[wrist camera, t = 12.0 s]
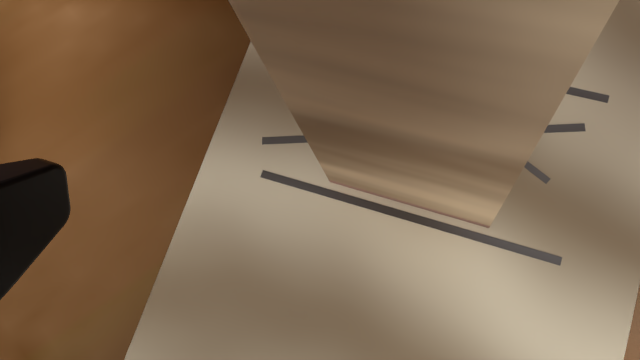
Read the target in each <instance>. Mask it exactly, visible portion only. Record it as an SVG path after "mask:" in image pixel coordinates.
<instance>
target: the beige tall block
mask: <svg viewBox="0 0 640 360" xmlns="http://www.w3.org/2000/svg"><path fill="white" fill-rule="evenodd" d="M228 1H229V3H230V5H231V7H232V8H233V10H234V12H235V14H236V15H237V17H238V19H239V21H240V23H241V24H242V26H243V28H244V30H245V31H246V33H247V35H248V37H249V39H250V40H251V42H252V44H253V46H254V48H255V49H256V51H257V53H258V55H259V56H260V58H261V60H262V62H263V64H264V65H265V67H266V69H267V71H268V73H269V74H270V76H271V78H272V80H273V81H274V83H275V85H276V87H277V89H278V90H279V92H280V94H281V96H282V98H283V99H284V101H285V103H286V105H287V106H288V108H289V110H290V112H291V114H292V115H293V117H294V119H295V121H296V123H297V124H298V126H299V128H300V130H301V131H302V133H303V135H304V137H305V139H306V140H307V142H308V144H309V146H310V148H311V149H312V151H313V153H314V155H315V156H316V158H317V160H318V162H319V164H320V165H321V167H322V169H323V171H324V172H325V174H326V176H327V178H328V180H329V181H330V182H331V183H335V184H338V185H342V186H345V187H348V188H352V189H355V190H359V191H362V192H366V193H369V194H373V195H376V196H379V197H383V198H386V199H390V200H393V201H397V202H400V203H404V204H407V205H410V206H414V207H417V208H421V209H424V210H428V211H431V212H435V213H438V214H441V215H445V216H448V217H452V218H455V219H459V220H462V221H466V222H469V223H472V224H476V225H479V226H483V227H486V228H489V227H490V226H491V224H492V222H493V220H494V219H495V217H496V215H497V213H498V212H499V210H500V208H501V206H502V205H503V203H504V201H505V199H506V198H507V196H508V194H509V192H510V191H511V189H512V187H513V185H514V184H515V182H516V180H517V178H518V177H519V175H520V173H521V171H522V170H523V168H524V166H525V164H526V163H527V161H528V159H529V158H530V156H531V154H532V152H533V151H534V149H535V147H536V145H537V144H538V142H539V140H540V138H541V137H542V135H543V133H544V131H545V130H546V128H547V126H548V124H549V123H550V121H551V119H552V117H553V116H554V114H555V112H556V110H557V109H558V107H559V105H560V103H561V102H562V100H563V98H564V96H565V95H566V93H567V91H568V89H569V88H570V86H571V84H572V82H573V81H574V79H575V77H576V75H577V74H578V72H579V70H580V68H581V67H582V65H583V63H584V61H585V60H586V58H587V56H588V54H589V53H590V51H591V49H592V47H593V46H594V44H595V42H596V40H597V39H598V37H599V35H600V33H601V32H602V30H603V28H604V26H605V25H606V23H607V21H608V19H609V18H610V16H611V14H612V12H613V11H614V9H615V7H616V5H617V4H618V2H619V0H228Z"/></svg>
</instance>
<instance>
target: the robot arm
mask: <svg viewBox="0 0 640 360" xmlns="http://www.w3.org/2000/svg"><path fill="white" fill-rule="evenodd" d="M69 215H70V200H69V192H68V184H67V176H66V172H65V170H64V168H63V167H62V166H61V165H59V164H57V163H53V162H50V161H47V160H44V159H39V158H35V159H29V160H23V161H17V162H11V163H5V164H0V300H1V298H2V297H3V296H4V295H5V294H6V293H7V292H8V291H9V290H10V289H11V288H12V286H13V285H14V284H15V283H16V282H17V281H18V279H19V278H20V277H21V276H22V275H23V274H24V272H25V271H26V270H27V269H28V268H29V266H30V265H31V264H32V263H33V262H34V260H35V259H36V258H37V257H38V256H39V254H40V253H41V252H42V251H43V250H44V249H45V247H46V246H47V245H48V244H49V243H50V241H51V240H52V239H53V238H54V237H55V235H56V234H57V233H58V232H59V231H60V230H61V228H62V227H63V226H64V225H65V223H66V222H67V220H68V218H69Z"/></svg>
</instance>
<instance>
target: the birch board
mask: <svg viewBox="0 0 640 360" xmlns="http://www.w3.org/2000/svg"><path fill="white" fill-rule="evenodd" d="M639 284H640V0H619V2H618V4H617V5H616V7H615V9H614V11H613V12H612V14H611V16H610V18H609V19H608V21H607V23H606V25H605V26H604V28H603V30H602V32H601V33H600V35H599V37H598V39H597V40H596V42H595V44H594V46H593V47H592V49H591V51H590V53H589V54H588V56H587V58H586V60H585V61H584V63H583V65H582V67H581V68H580V70H579V72H578V74H577V75H576V77H575V79H574V81H573V82H572V84H571V86H570V88H569V89H568V91H567V93H566V95H565V96H564V98H563V100H562V102H561V103H560V105H559V107H558V109H557V110H556V112H555V114H554V116H553V117H552V119H551V121H550V123H549V124H548V126H547V128H546V130H545V131H544V133H543V135H542V137H541V138H540V140H539V142H538V144H537V145H536V147H535V149H534V151H533V152H532V154H531V156H530V158H529V159H528V161H527V163H526V164H525V166H524V168H523V170H522V171H521V173H520V175H519V177H518V178H517V180H516V182H515V184H514V185H513V187H512V189H511V191H510V192H509V194H508V196H507V198H506V199H505V201H504V203H503V205H502V206H501V208H500V210H499V212H498V213H497V215H496V217H495V219H494V220H493V222H492V224H491V226H490V227H489V228H486V227H483V226H479V225H476V224H472V223H469V222H466V221H462V220H459V219H455V218H452V217H448V216H445V215H441V214H438V213H435V212H431V211H428V210H424V209H421V208H417V207H414V206H410V205H407V204H404V203H400V202H397V201H393V200H390V199H386V198H383V197H379V196H376V195H373V194H369V193H366V192H362V191H359V190H355V189H352V188H348V187H345V186H342V185H338V184H335V183H331V182H330V181H329V180H328V178H327V176H326V174H325V172H324V171H323V169H322V167H321V165H320V164H319V162H318V160H317V158H316V156H315V155H314V153H313V151H312V149H311V148H310V146H309V144H308V142H307V140H306V139H305V137H304V135H303V133H302V131H301V130H300V128H299V126H298V124H297V123H296V121H295V119H294V117H293V115H292V114H291V112H290V110H289V108H288V106H287V105H286V103H285V101H284V99H283V98H282V96H281V94H280V92H279V90H278V89H277V87H276V85H275V83H274V81H273V80H272V78H271V76H270V74H269V73H268V71H267V69H266V67H265V65H264V64H263V62H262V60H261V58H260V56H259V55H258V53H257V51H256V49H255V48H254V46H253V44H252V42H250V45H249V47H248V50H247V52H246V55H245V57H244V60H243V62H242V65H241V67H240V70H239V72H238V75H237V77H236V80H235V82H234V85H233V87H232V90H231V92H230V95H229V97H228V100H227V102H226V105H225V107H224V110H223V112H222V115H221V118H220V120H219V123H218V125H217V128H216V130H215V133H214V135H213V138H212V140H211V143H210V145H209V148H208V150H207V153H206V155H205V158H204V160H203V163H202V165H201V168H200V170H199V173H198V175H197V178H196V180H195V183H194V185H193V188H192V190H191V193H190V195H189V198H188V201H187V203H186V206H185V208H184V211H183V213H182V216H181V218H180V221H179V223H178V226H177V228H176V231H175V233H174V236H173V238H172V241H171V243H170V246H169V248H168V251H167V253H166V256H165V258H164V261H163V263H162V266H161V268H160V271H159V273H158V276H157V278H156V281H155V284H154V286H153V289H152V291H151V294H150V296H149V299H148V301H147V304H146V306H145V309H144V311H143V314H142V316H141V319H140V321H139V324H138V326H137V329H136V331H135V334H134V336H133V339H132V341H131V344H130V346H129V349H128V351H127V354H126V356H125V359H124V360H624V355H625V350H626V346H627V341H628V336H629V332H630V327H631V322H632V317H633V313H634V308H635V303H636V299H637V294H638V289H639Z"/></svg>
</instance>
